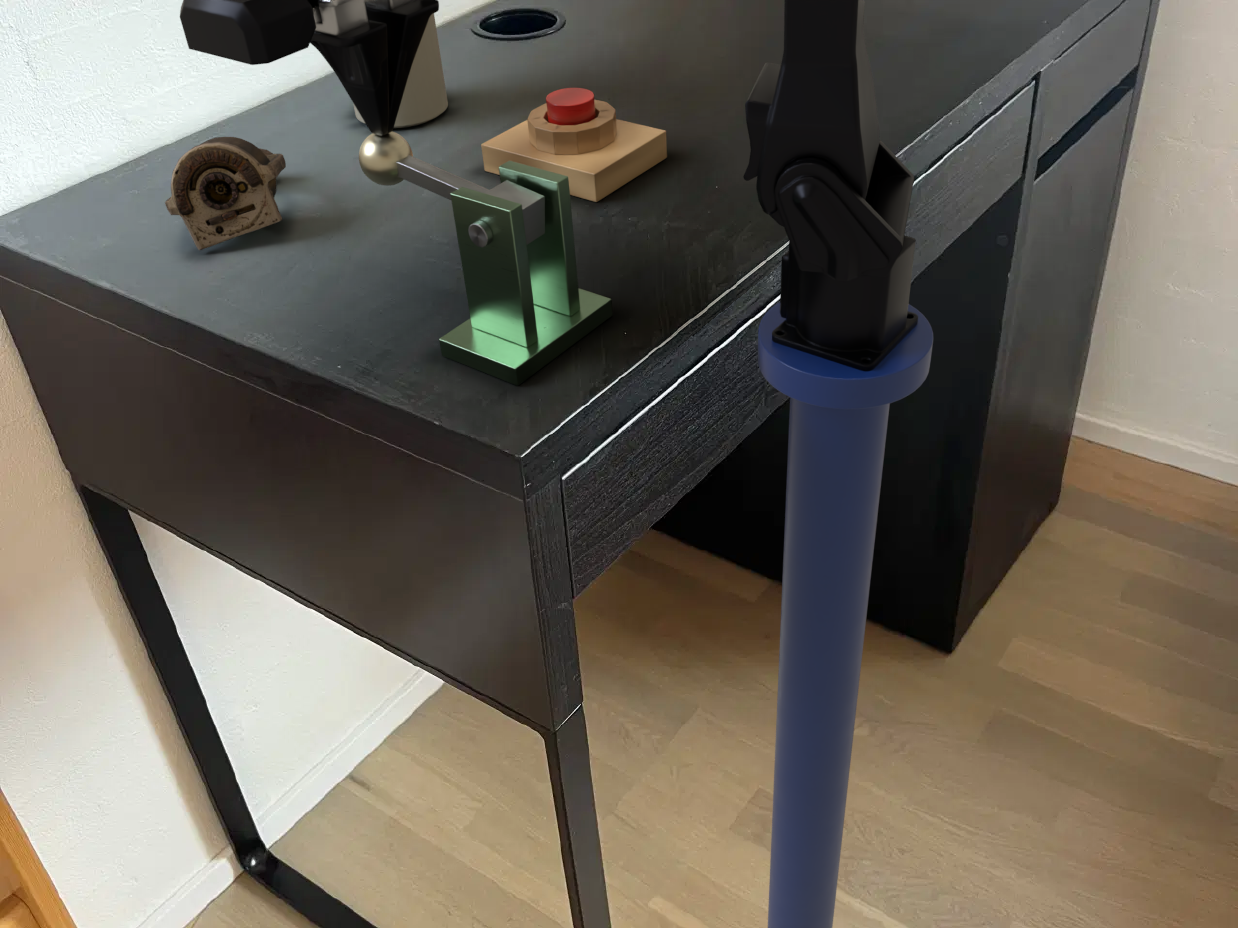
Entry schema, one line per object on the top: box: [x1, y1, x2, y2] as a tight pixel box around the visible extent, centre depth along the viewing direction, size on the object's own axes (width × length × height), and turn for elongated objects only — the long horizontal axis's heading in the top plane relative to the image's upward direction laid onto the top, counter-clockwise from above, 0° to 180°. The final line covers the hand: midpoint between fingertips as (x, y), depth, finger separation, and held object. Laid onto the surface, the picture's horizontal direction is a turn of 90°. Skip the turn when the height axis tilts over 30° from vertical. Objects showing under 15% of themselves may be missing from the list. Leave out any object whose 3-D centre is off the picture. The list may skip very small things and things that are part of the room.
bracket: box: [438, 161, 613, 387], centre depth 66 cm, size 6×9×10 cm, turn 143°
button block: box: [480, 98, 668, 203], centre depth 87 cm, size 11×9×4 cm
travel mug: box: [352, 13, 449, 129], centre depth 93 cm, size 8×8×18 cm
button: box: [545, 87, 596, 125], centre depth 85 cm, size 4×4×2 cm
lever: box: [358, 131, 545, 244], centre depth 66 cm, size 13×3×3 cm, turn 53°
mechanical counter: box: [164, 136, 287, 251], centre depth 82 cm, size 7×13×10 cm
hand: (381, 133), depth 67 cm, fingers closed, pressing on lever
